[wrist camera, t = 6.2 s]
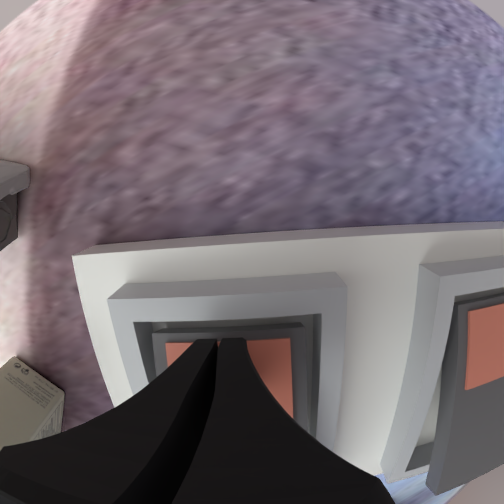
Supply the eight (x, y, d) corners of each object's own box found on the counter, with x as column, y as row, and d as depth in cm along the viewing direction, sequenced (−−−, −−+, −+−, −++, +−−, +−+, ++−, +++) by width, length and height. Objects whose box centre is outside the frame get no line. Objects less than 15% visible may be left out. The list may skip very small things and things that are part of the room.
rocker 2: (498, 451, 10) (512, 460, 8) (425, 483, 10) (436, 497, 8) (516, 289, 11) (534, 288, 9) (442, 304, 11) (460, 305, 9)
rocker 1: (303, 509, 10) (306, 527, 9) (192, 510, 10) (186, 528, 9) (300, 321, 11) (305, 327, 9) (162, 328, 11) (150, 334, 10)
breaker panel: (486, 415, 15) (509, 443, 12) (157, 462, 16) (144, 504, 12) (532, 220, 12) (575, 231, 8) (95, 245, 13) (49, 266, 9)
